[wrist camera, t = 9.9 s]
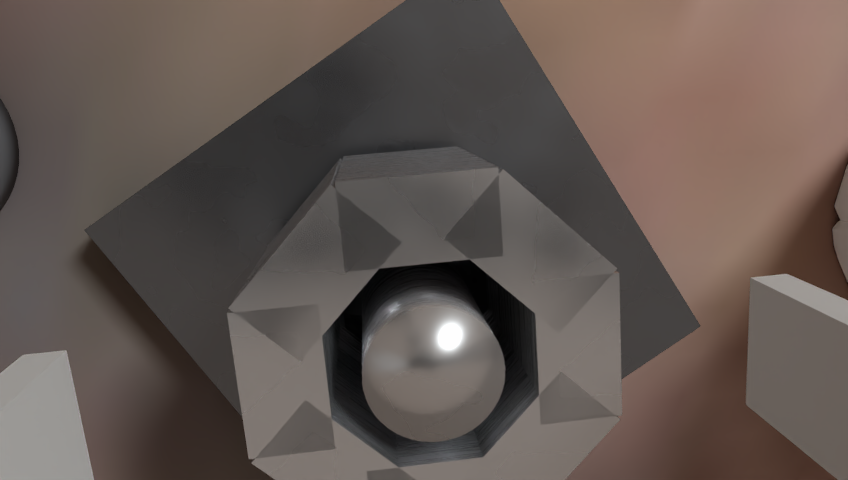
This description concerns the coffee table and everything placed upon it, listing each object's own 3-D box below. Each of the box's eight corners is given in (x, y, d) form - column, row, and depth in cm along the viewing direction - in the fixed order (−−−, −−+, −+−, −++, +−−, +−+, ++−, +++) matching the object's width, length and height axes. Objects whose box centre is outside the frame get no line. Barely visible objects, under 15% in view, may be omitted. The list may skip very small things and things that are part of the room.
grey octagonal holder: (256, 163, 19) (208, 193, 13) (539, 139, 19) (616, 156, 13) (292, 427, 20) (263, 560, 15) (551, 397, 21) (624, 513, 15)
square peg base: (103, 220, 22) (-75, 305, 13) (463, -36, 21) (535, -133, 12) (358, 528, 25) (356, 765, 16) (680, 312, 24) (862, 435, 15)
